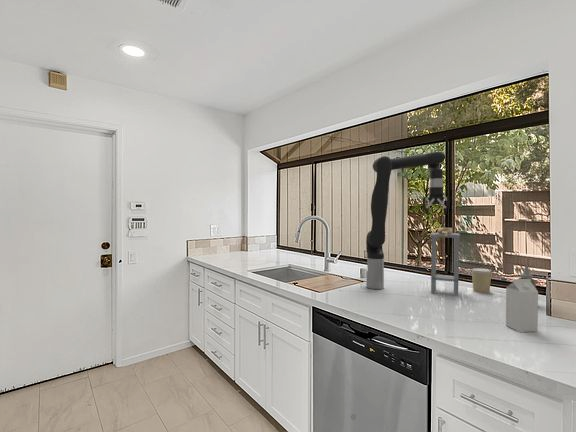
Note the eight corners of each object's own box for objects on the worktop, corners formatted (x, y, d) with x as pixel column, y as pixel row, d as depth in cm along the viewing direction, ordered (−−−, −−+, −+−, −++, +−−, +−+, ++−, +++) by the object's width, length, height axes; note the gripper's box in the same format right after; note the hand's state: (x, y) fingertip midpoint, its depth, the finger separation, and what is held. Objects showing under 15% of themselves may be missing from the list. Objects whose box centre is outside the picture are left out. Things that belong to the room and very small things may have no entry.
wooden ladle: (437, 235, 165) (437, 229, 164) (438, 232, 182) (438, 227, 181) (452, 236, 161) (452, 230, 161) (452, 233, 178) (452, 227, 178)
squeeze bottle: (532, 302, 157) (533, 265, 157) (539, 307, 149) (540, 268, 149) (513, 301, 160) (513, 264, 159) (518, 306, 152) (519, 267, 152)
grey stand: (430, 293, 175) (430, 234, 174) (431, 289, 184) (431, 232, 183) (459, 296, 169) (459, 234, 168) (458, 291, 178) (459, 233, 177)
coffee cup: (485, 289, 182) (486, 268, 182) (494, 293, 173) (495, 271, 173) (468, 289, 183) (468, 268, 183) (476, 293, 174) (476, 271, 174)
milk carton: (505, 325, 127) (506, 277, 127) (522, 324, 128) (523, 277, 127) (519, 332, 120) (520, 281, 120) (537, 331, 121) (538, 281, 120)
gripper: (422, 187, 187) (422, 215, 187) (449, 186, 180) (449, 215, 181) (423, 187, 194) (423, 214, 194) (449, 186, 187) (449, 214, 187)
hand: (435, 214), depth 187 cm, fingers open, 8 cm apart
